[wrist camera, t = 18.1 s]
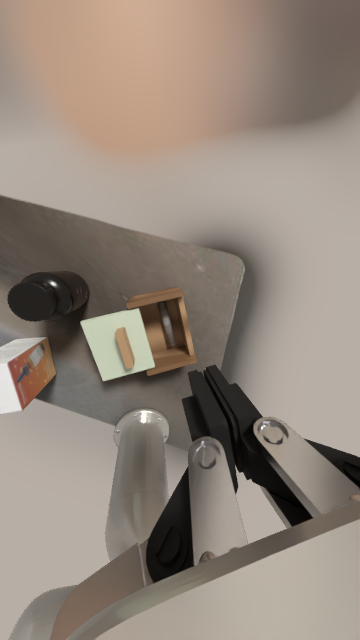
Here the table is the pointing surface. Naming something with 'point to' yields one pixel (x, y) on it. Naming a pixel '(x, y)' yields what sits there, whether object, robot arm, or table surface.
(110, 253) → the table surface
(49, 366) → the small box
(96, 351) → the lid
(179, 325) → the brown wooden box
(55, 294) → the supplement bottle
